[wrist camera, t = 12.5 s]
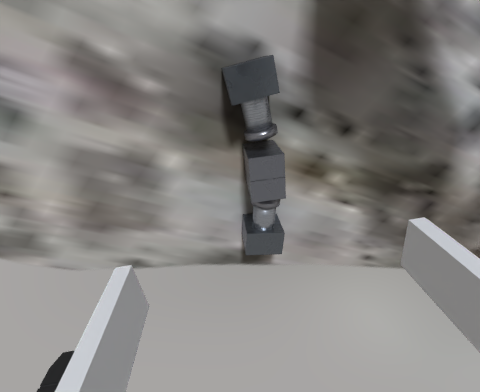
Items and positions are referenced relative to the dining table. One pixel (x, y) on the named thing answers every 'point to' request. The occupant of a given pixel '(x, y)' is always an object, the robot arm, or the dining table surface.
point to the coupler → (264, 171)
